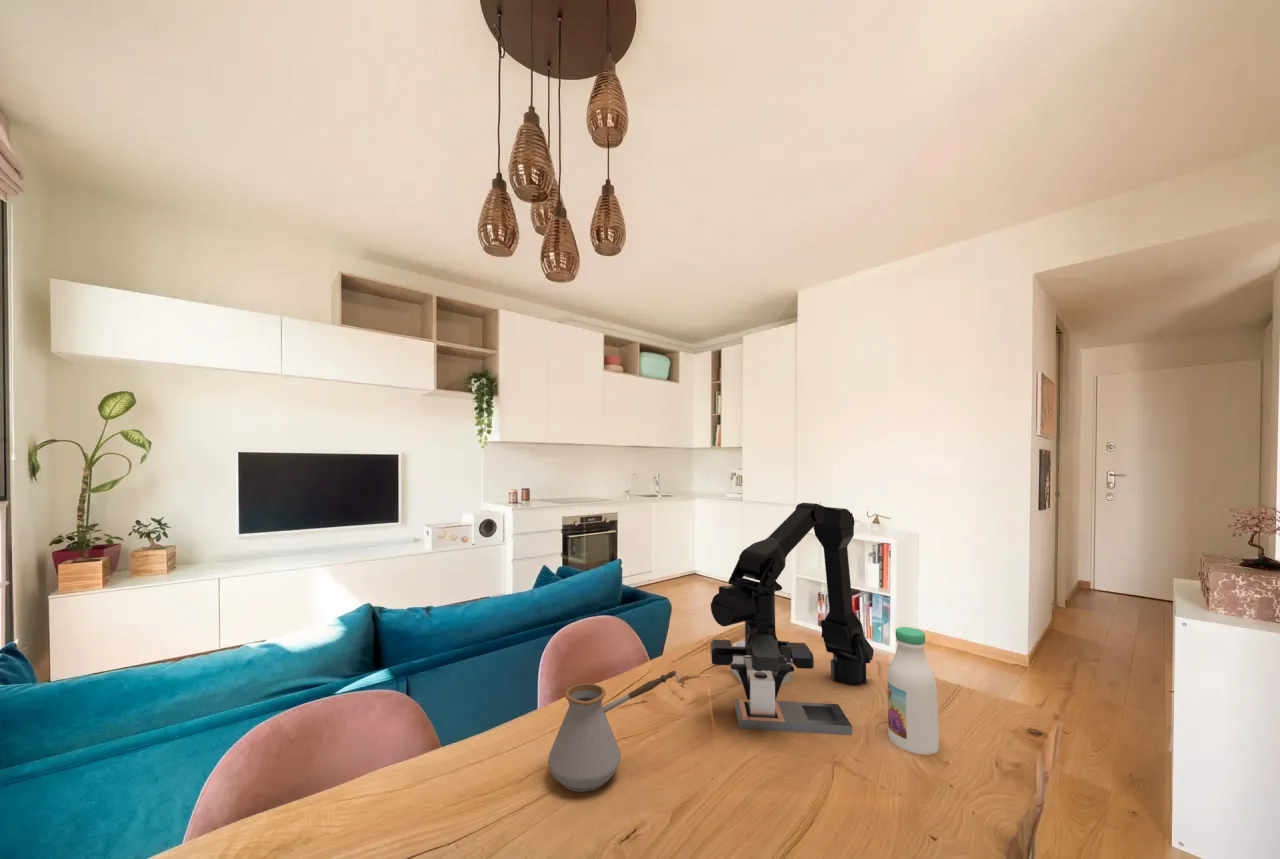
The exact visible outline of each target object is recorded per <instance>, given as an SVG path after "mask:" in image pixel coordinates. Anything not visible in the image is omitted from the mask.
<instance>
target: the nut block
mask: <svg viewBox="0 0 1280 859" xmlns="http://www.w3.org/2000/svg"><path fill="white" fill-rule="evenodd" d="M747 676H748V684H749V700H748V710H749V714H750V717H760V718H775V701H776V700H775V680H774V678H773V676H772V673H771V671H755V670H747Z"/></svg>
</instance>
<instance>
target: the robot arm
mask: <svg viewBox="0 0 1280 859" xmlns="http://www.w3.org/2000/svg"><path fill="white" fill-rule="evenodd" d="M812 529H813V532H814V535H815V538H816V539H817V540H818V542H819V543H820V545H821V546H822V549H823V556H824V565H825V566H824V567H825V578H826V590H827V599H828V600H827V601H828V613H827V614H826V616H825V618H824V619H821V621H820V627H821V638H822V639H823V642H824V645H825V651H826V652H827V653H831V654H832V659H830V678H831V679H832V680H833V682H835V683H839V684H844V685H848V686H861V685H864V684H865V685H866V684H867V664H871V661H872V660H873V657H874V648H873V646H871V644H870V642H868V640H867V639H866V637H865V633H864V627H863V624H862V622H861V620H859V618H858V616H857V615H856V613H855V611H854V607H853V606H854V605H853V594H852V587H851V586H852V583H851V574H850V572H851V571H850V562H849V551H848V546H849V545H850V543H851V541H852V539H853V538H854V535H855V517H854V515H853V513H852V512H851V511H850V510H849V509H847V508H843V507H842V508H841V507H833V506H832V507H831V506H829V507H828V506H824V505H821V504H819V503H811V502H800V503H798V504H797V505H796V507H795V510H793V512H792V513H791V514H790V515H789V516H788V517H787V518H785V520H784V521H782V523H781V524H780V525H779V526H778V527H777V528H775V530H774V531H773V532H772V533H771V534H770V535H769V536H768V537H766V538H765V539H761V540H760V541H756V542H754V543H752V544H751V545H749V546H747V547H746V548H745V549H743V550H742V551H741V553H740V554H739V556H738V560H737V562H736V565H735V567H734V569H733V571H732V572H731V574H730V577H729V579H728V585H722V586H721V585H720V586H718V593H716V594H715V595H714V596H713V597H712V600H711V602H710V610H711V611H710V612H711V615H712V617H713V619H714V621H715V622H716V623H717V624H718V625H719V626H721V627H729V626H733V625H737V624H739V623H744V640H745V647H733V646H732V645H733V644H732V641H731V640H730V639H712V641H711V642H710V658H711V664H712V665H715V666H730V669H731V670H732V669H734V670H737V672H738V674H739V676H740V678H741V680H742V683H743V684H742V683H741V684H742V686H743V689H744V692H745V697H746V699H747V700H749V684H748V676H747V667H746V663H745V658H751V662H752V668H753V669H754V670H755V671H772V676H773V678H774V680H775V701H777V698H778V694H779V691H780V688H781V686H782V685H781V683H782V681H783V679H784V677H785V675H786V674H787V673H788V672H792V673H793V672H794V671H795V667H796V668H797V669H808V670H809V669H814V667H815V664H814V663H815V661H814V660H815V658H814V654H813V653H812V651H811V649H810V648H809V646H808V645H807V644H806V643H805V642H793V641H792V642H790V641H786V640H785V641H783V640H782V641H781V640H779V639H778V637H777V635H776V634H777V633H776V594H775V593H776V592H779V591H782V590H783V587H782V585H781V584H779V583H778V582H777V580H778V578H779V577H780V575H781V574H782V573H783V571H784V570H785V568H786V562H787V560H786V559H787V557H788V555H789V554H790V553H791V552H792V551H793V549H794V548H795V547H796V546H797V545H798V544H799V543H800V542H801V541H802V540H803V539H804V538H805V537H806V536H807V535H808V533H809V532H810V531H811V530H812ZM748 578H749V579H748Z"/></svg>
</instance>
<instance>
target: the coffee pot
mask: <svg viewBox="0 0 1280 859" xmlns="http://www.w3.org/2000/svg"><path fill="white" fill-rule="evenodd" d="M673 677H675V679H676V681H677V683H678V684H681V681H680V679H679V677H678V675H677V671H676V670H672V671H669V672H667V674H661V675H660V677H658V678H655V679H652V680H649V681H647V682H645V683H643V684H642V685H640V686H638V687H637V688H636V689H634V690H632V691H630V692H629V693H628V694H626V695H624V696H621V697H620V698H618V699H615V700H613V701H612V702H610V703H608V704H606V705H603V706H602V702H603V699H604V698H605V697H606V695H607V694H606V690H605V688H604V687H603V686H601V685H599V684H596V683H579V684H575V685H572V686H570V687H569V688H568V689H566V691H565V694H564V697H565V699H566V700H567V702H568V708H567V711H566V713H565V715H564V718H563V720H562V721H561V722H562V723H561V725H560V728H559V730H558V732H557V735H556V737H555V739H554V743H552V747H551V749H550V751H549V755H548V759H547V763H548V768H549V770H550V773H551V775H552V776H553V778H554V779H555V780H556V781H557V782H558V783H560V784H561V785H562V786H563V787H564V788H566V789H567V790H570V791H573V792H578V793H579V792H580V793H584V792H591V791H594V790H597V789H600V788H601V787H602V786H604V785H605V783H607V781H609V780H610V779H611V778H612V777H613V775H614V774H615V773H616V772H617V770H618V767H619V766H620V763H621V759H622V757H621V750H620V748H619V744H618V742H617V740H616V738H615V737H616V736H615V735H614V732H613V730H612V728H611V727H612V726H610V722H609V721H608V717H607V715H606V713H608V712H609V711H612V710H613V709H615V708H616V707H618V706H620V705H622V704H624V703H626V702H627V701H629V700H632V699H634V698H637V697H638V696H641V695H643V694H645V693H648V692H650V691H652V690H653V689H655V688H657V686H659V685H661V684H662V683H664V684H665V683H666V682H667V680H669V679H672V678H673Z"/></svg>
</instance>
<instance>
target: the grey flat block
mask: <svg viewBox="0 0 1280 859" xmlns="http://www.w3.org/2000/svg"><path fill="white" fill-rule="evenodd" d="M734 709H735V710H734V711H735V715H736V720H737V726H738V729H739V730H754V731H755V730H756V731H770V732H771V731H773V732H788V733H789V732H791V733H806V734H807V733H809V734H827V735H843V736H845V735H847V736H853V725H852V723H851V722H850V721H849V719H848V717H847V716H846V714H845V712H844V711H843V710H842V708H841V706H840V705H839V703H824V702H805V701H803V702H801V701H785V700H781V701H780V700H775V718H760V717H750V714H749V710H748V700H747V698H734Z"/></svg>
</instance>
